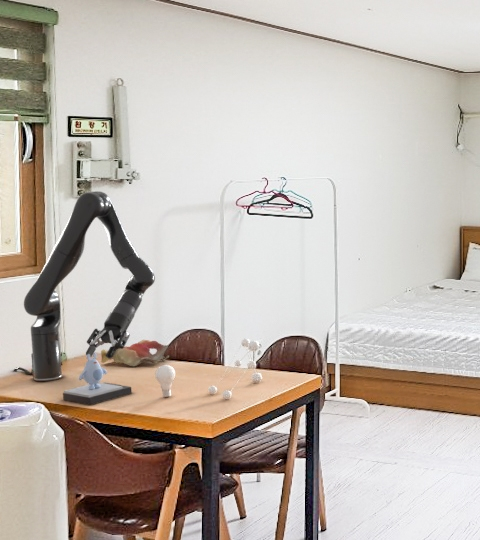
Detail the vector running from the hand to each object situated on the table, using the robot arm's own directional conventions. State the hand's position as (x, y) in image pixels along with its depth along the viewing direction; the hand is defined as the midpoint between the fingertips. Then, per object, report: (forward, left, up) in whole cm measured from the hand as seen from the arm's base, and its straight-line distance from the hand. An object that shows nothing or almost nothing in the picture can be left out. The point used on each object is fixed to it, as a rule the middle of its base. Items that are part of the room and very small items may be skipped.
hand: (98, 356), depth 295 cm
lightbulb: (+23, +8, -14) cm, 28 cm away
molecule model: (+38, +27, -14) cm, 48 cm away
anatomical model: (-31, +41, -14) cm, 54 cm away
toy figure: (+1, -3, -10) cm, 11 cm away
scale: (+1, -2, -13) cm, 13 cm away
